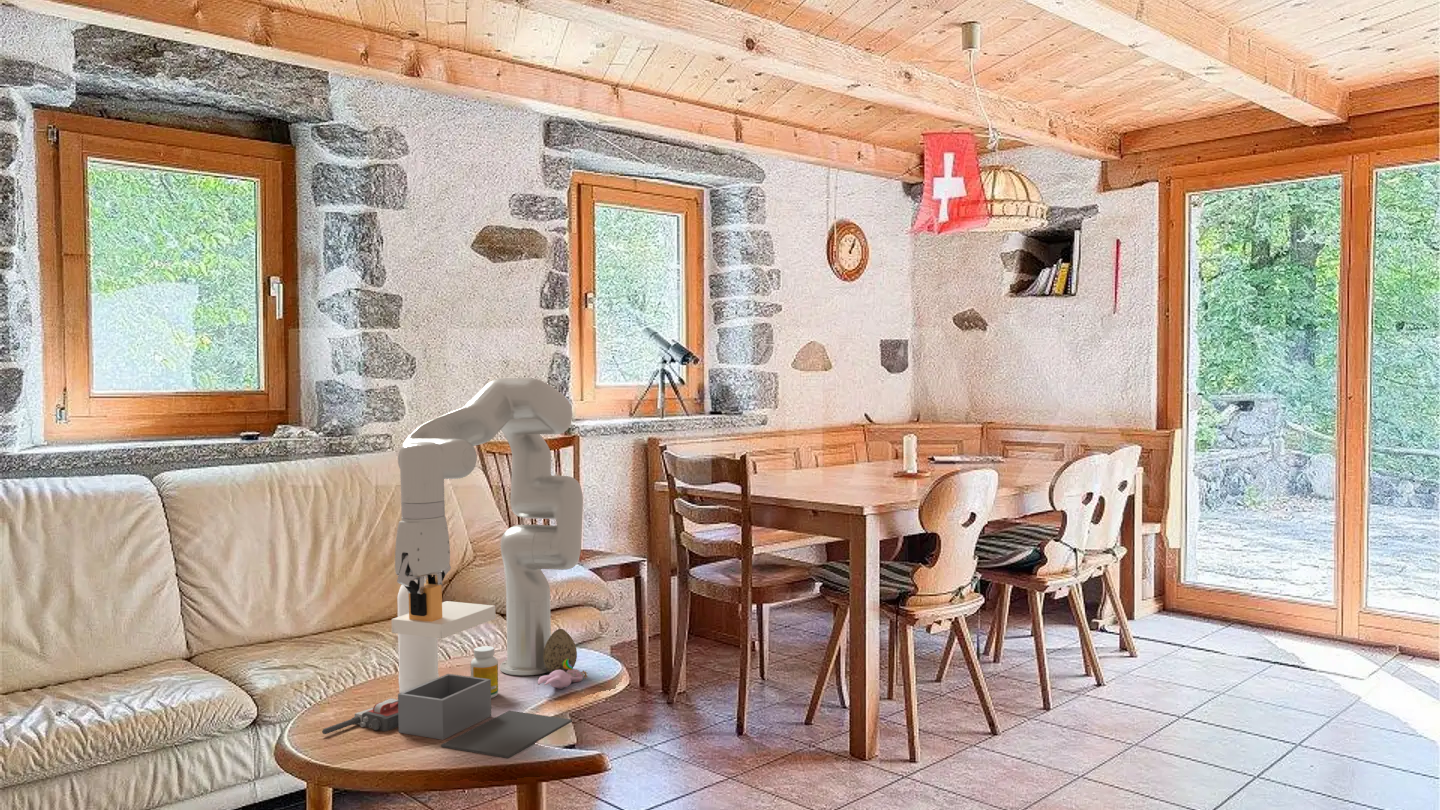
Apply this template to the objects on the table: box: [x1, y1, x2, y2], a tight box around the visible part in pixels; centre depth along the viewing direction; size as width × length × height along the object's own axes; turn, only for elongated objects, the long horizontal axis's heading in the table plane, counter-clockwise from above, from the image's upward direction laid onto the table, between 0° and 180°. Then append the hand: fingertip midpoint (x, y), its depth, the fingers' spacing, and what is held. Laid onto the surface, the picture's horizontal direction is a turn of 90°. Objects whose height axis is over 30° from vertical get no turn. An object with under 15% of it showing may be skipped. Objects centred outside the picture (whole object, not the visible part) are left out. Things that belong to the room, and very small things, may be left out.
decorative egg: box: [543, 628, 578, 674], centre depth 224 cm, size 7×7×10 cm
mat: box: [440, 710, 573, 759], centre depth 188 cm, size 20×14×1 cm
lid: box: [391, 583, 497, 640], centre depth 193 cm, size 15×11×8 cm
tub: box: [397, 673, 492, 741], centre depth 194 cm, size 14×10×7 cm
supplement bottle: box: [470, 645, 499, 699], centre depth 211 cm, size 5×5×10 cm
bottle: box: [397, 576, 440, 694], centre depth 215 cm, size 8×8×30 cm
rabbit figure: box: [537, 659, 588, 690], centre depth 216 cm, size 6×6×15 cm
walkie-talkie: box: [321, 697, 399, 735], centre depth 194 cm, size 9×4×20 cm
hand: (425, 611), depth 189 cm, fingers closed on lid, 3 cm apart
